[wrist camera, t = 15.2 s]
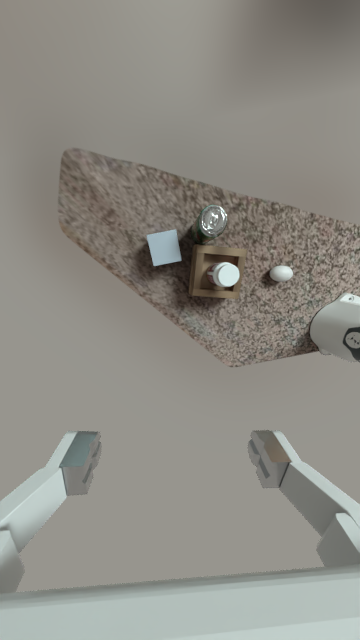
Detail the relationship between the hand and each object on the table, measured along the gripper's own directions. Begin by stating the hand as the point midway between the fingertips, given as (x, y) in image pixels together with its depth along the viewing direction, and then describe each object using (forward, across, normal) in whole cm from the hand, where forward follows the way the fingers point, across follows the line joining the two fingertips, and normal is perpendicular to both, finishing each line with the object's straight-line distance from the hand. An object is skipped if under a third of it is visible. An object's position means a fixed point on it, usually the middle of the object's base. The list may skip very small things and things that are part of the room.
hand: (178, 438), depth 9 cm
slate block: (+37, +2, -12) cm, 39 cm away
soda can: (+37, -6, -16) cm, 41 cm away
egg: (+37, -27, -9) cm, 47 cm away
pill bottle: (+33, -10, -8) cm, 36 cm away
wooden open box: (+37, -10, -8) cm, 39 cm away
